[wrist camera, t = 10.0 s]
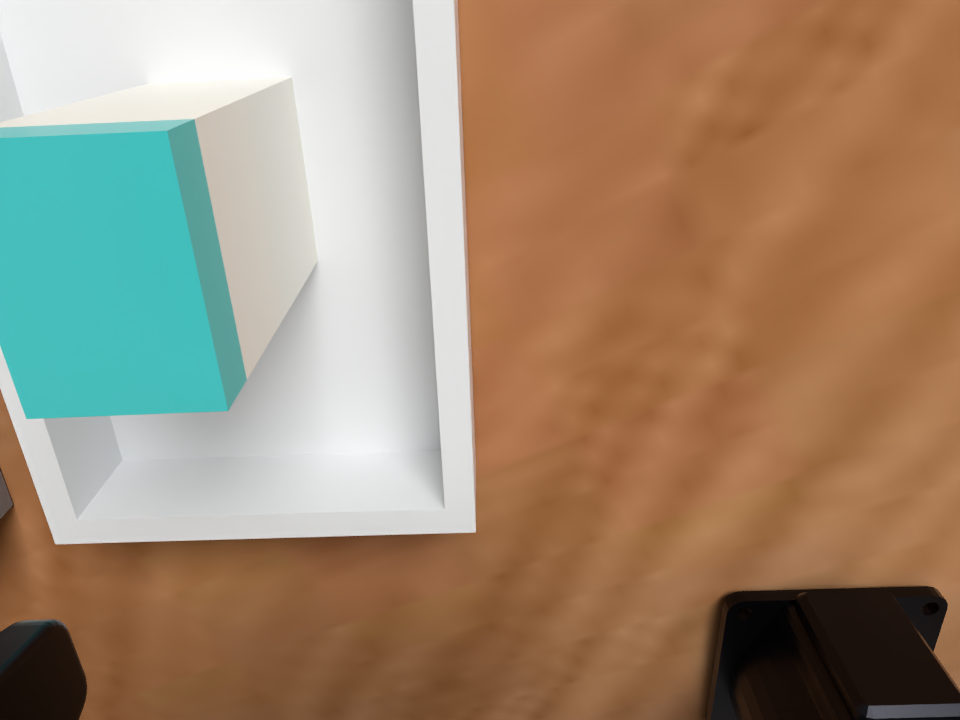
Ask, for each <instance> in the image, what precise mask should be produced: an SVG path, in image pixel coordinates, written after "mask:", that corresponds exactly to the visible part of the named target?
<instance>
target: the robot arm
mask: <svg viewBox="0 0 960 720" xmlns="http://www.w3.org/2000/svg"><path fill="white" fill-rule="evenodd" d="M947 606H948V603H947V602H946V600H945V599H944V597H943V596H942V595H941V593H940V592H939V591H938V590H937V589H935V588H934V587H928V586H922V587H886V588H850V589H814V590H778V591H742V592H736V593H733V594H731V595H729V596H728V597H727V598H726V599H725V600H724V602H723V605H722V612H721V619H720V625H719V632H718V639H717V646H716V652H715V659H714V666H713V673H712V679H711V686H710V693H709V700H708V706H707V713H706V720H960V690H959V688H958V687H957V685H956V684H955V682H954V681H953V680H952V678H951V677H950V675H949V674H948V672H947V671H946V670H945V668H944V667H943V665H942V664H941V662H940V661H939V660H938V658H937V657H936V655H935V654H934V652H933V651H934V648H935V645H936V642H937V639H938V636H939V633H940V630H941V626H942V623H943V620H944V617H945V614H946V611H947ZM740 608H744V609H743V610H739V609H740ZM737 610H739V611H737ZM86 694H87V682H86V676H85V673H84V670H83V668H82V665H81V662H80V660H79V657H78V655H77V652H76V649H75V647H74V644H73V641H72V639H71V636H70V633H69V631H68V629H67V627H66V626H65V625H64V624H63V623H62V622H61V621H58V620H53V619H52V620H25V621H20V622H17V623H14V624H12V625H11V626H9V627H7V628H6V629H4V630H3V631H1V632H0V720H79V718H80V715H81V712H82V710H83V707H84V703H85V700H86Z"/></svg>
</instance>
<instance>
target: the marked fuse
mask: <svg viewBox="0 0 960 720" xmlns="http://www.w3.org/2000/svg"><path fill="white" fill-rule="evenodd" d="M317 262H318V256H317V249H316V242H315V235H314V228H313V221H312V214H311V207H310V200H309V193H308V186H307V179H306V172H305V165H304V158H303V151H302V144H301V137H300V130H299V123H298V116H297V109H296V101H295V94H294V87H293V80H292V77H281V78H259V79H237V80H215V81H192V82H170V83H149V84H145V85H141V86H137V87H134V88H130V89H126V90H122V91H118V92H114V93H111V94H107V95H103V96H99V97H95V98H91V99H88V100H84V101H80V102H76V103H72V104H68V105H65V106H61V107H57V108H53V109H49V110H45V111H42V112H38V113H34V114H30V115H26V116H22V117H19V118H15V119H11V120H7V121H3V122H0V347H1V349H2V352H3V355H4V358H5V361H6V363H7V366H8V369H9V372H10V375H11V377H12V380H13V383H14V386H15V389H16V391H17V394H18V397H19V400H20V403H21V405H22V408H23V411H24V414H25V417H26V419H42V418H67V417H93V416H118V415H144V414H169V413H194V412H220V411H229V409H230V407H231V406H232V404H233V402H234V401H235V399H236V397H237V396H238V394H239V392H240V391H241V389H242V387H243V386H244V384H245V382H246V381H247V379H248V377H249V376H250V374H251V372H252V371H253V369H254V367H255V366H256V364H257V362H258V361H259V359H260V357H261V355H262V354H263V352H264V350H265V349H266V347H267V345H268V344H269V342H270V340H271V339H272V337H273V335H274V334H275V332H276V330H277V329H278V327H279V325H280V324H281V322H282V320H283V319H284V317H285V315H286V314H287V312H288V310H289V309H290V307H291V305H292V304H293V302H294V300H295V299H296V297H297V295H298V294H299V292H300V290H301V289H302V287H303V285H304V284H305V282H306V280H307V279H308V277H309V275H310V273H311V272H312V270H313V268H314V267H315V265H316V263H317Z"/></svg>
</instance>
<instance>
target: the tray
mask: <svg viewBox="0 0 960 720" xmlns="http://www.w3.org/2000/svg"><path fill="white" fill-rule="evenodd" d="M281 77H292V80H293V87H294V94H295V101H296V109H297V116H298V123H299V130H300V137H301V144H302V151H303V158H304V165H305V172H306V179H307V186H308V193H309V200H310V207H311V214H312V221H313V228H314V235H315V242H316V249H317V256H318V262H317V263H316V265H315V267H314V268H313V270H312V272H311V273H310V275H309V277H308V279H307V280H306V282H305V284H304V285H303V287H302V289H301V290H300V292H299V294H298V295H297V297H296V299H295V300H294V302H293V304H292V305H291V307H290V309H289V310H288V312H287V314H286V315H285V317H284V319H283V320H282V322H281V324H280V325H279V327H278V329H277V330H276V332H275V334H274V335H273V337H272V339H271V340H270V342H269V344H268V345H267V347H266V349H265V350H264V352H263V354H262V355H261V357H260V359H259V361H258V362H257V364H256V366H255V367H254V369H253V371H252V372H251V374H250V376H249V377H248V379H247V381H246V382H245V384H244V386H243V387H242V389H241V391H240V392H239V394H238V396H237V397H236V399H235V401H234V402H233V404H232V406H231V407H230V409H229V411H220V412H194V413H169V414H144V415H118V416H93V417H67V418H42V419H26V417H25V414H24V411H23V408H22V405H21V403H20V400H19V397H18V394H17V391H16V389H15V386H14V383H13V380H12V377H11V375H10V372H9V369H8V366H7V363H6V361H5V358H4V355H3V352H2V349H1V347H0V389H1V392H2V395H3V397H4V400H5V403H6V406H7V409H8V411H9V414H10V417H11V420H12V423H13V426H14V428H15V431H16V434H17V437H18V440H19V443H20V445H21V448H22V451H23V454H24V457H25V459H26V462H27V465H28V468H29V471H30V474H31V476H32V479H33V482H34V485H35V488H36V491H37V493H38V496H39V499H40V502H41V505H42V507H43V510H44V513H45V516H46V519H47V522H48V524H49V527H50V530H51V533H52V536H53V539H54V541H55V544H83V543H119V542H154V541H189V540H224V539H260V538H295V537H330V536H365V535H401V534H436V533H471V532H476V454H475V429H474V403H473V378H472V352H471V327H470V302H469V276H468V251H467V225H466V200H465V175H464V149H463V124H462V98H461V73H460V48H459V22H458V0H0V122H3V121H7V120H11V119H15V118H19V117H22V116H26V115H30V114H34V113H38V112H42V111H45V110H49V109H53V108H57V107H61V106H65V105H68V104H72V103H76V102H80V101H84V100H88V99H91V98H95V97H99V96H103V95H107V94H111V93H114V92H118V91H122V90H126V89H130V88H134V87H137V86H141V85H145V84H149V83H170V82H192V81H215V80H237V79H259V78H281Z"/></svg>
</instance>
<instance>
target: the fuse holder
mask: <svg viewBox="0 0 960 720" xmlns="http://www.w3.org/2000/svg"><path fill="white" fill-rule="evenodd" d="M12 506H13V503H12V500H11V497H10V495H9V492H8V489H7V487H6V484H5V481H4V479H3V476H2V473H1V471H0V519H1V518H2V517H3V516H4V515H5V513H6V512H7V511H8V510H9V509H10V508H11V507H12Z"/></svg>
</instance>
